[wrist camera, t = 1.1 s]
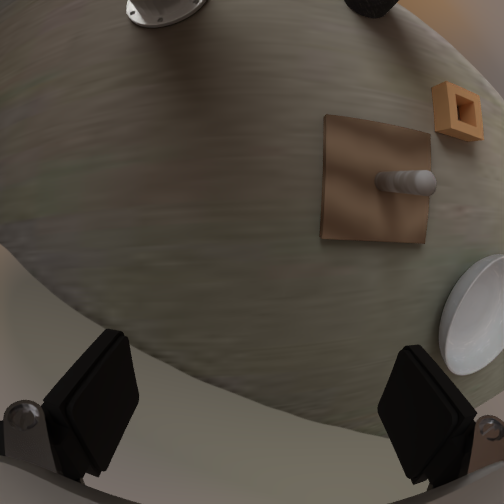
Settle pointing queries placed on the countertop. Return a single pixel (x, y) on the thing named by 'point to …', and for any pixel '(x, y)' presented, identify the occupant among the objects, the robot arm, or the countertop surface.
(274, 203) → the countertop surface
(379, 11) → the travel mug
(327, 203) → the post stand
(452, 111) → the collar
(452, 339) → the serving bowl
